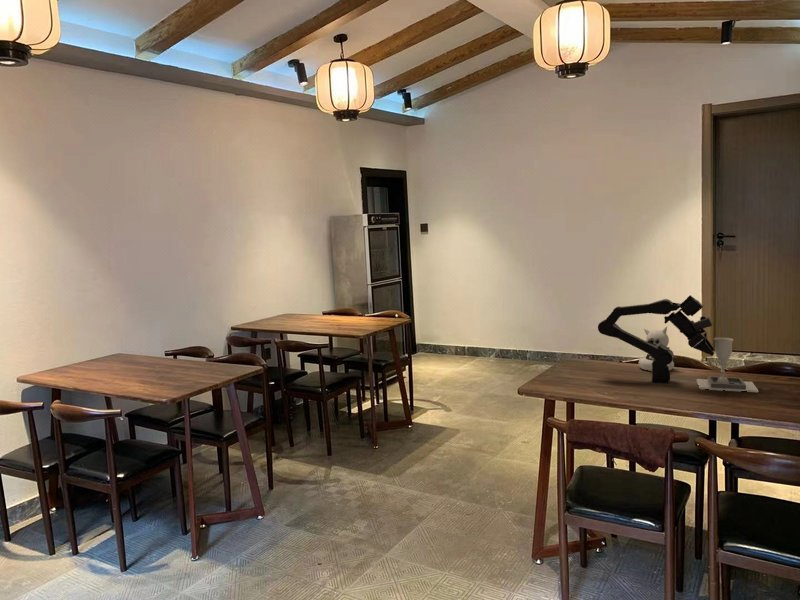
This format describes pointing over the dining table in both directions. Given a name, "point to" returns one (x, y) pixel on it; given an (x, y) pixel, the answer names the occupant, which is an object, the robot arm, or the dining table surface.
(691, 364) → the dining table surface
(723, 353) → the chalice
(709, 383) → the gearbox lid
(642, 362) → the decorative figurine
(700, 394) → the dining table surface
